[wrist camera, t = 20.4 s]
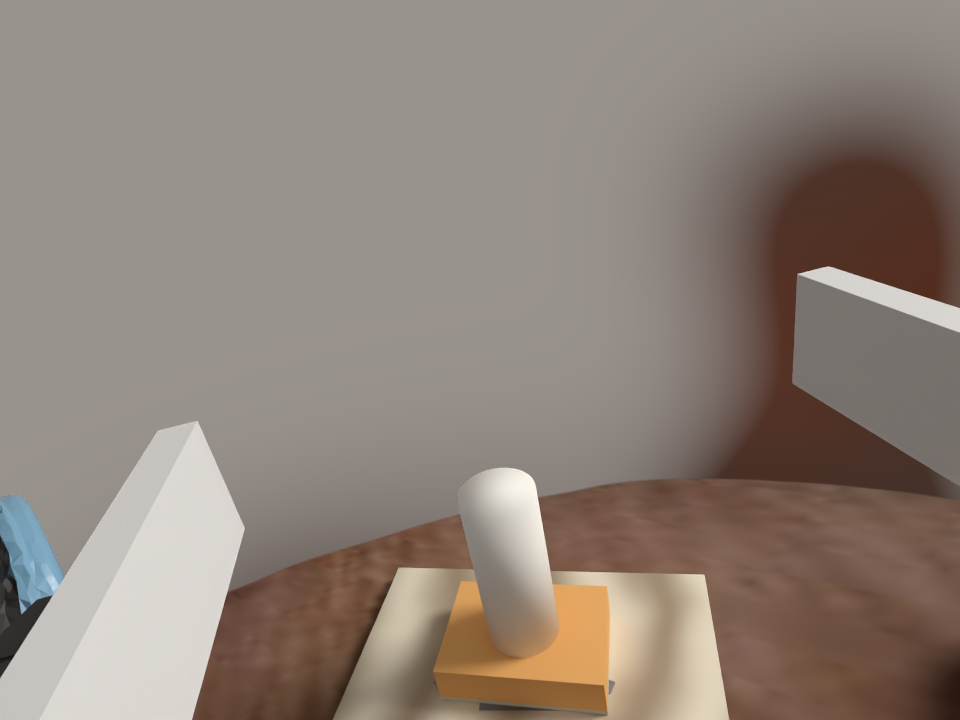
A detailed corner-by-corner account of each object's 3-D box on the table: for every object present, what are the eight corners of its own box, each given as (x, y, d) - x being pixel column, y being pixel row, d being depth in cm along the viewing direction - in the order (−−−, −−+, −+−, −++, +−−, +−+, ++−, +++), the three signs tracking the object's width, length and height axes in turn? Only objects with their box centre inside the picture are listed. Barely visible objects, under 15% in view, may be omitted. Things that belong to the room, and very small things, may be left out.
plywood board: (327, 757, 35) (321, 744, 35) (402, 578, 47) (398, 567, 47) (741, 806, 29) (741, 791, 29) (704, 587, 41) (704, 574, 41)
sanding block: (441, 699, 36) (390, 535, 31) (467, 606, 42) (429, 456, 37) (607, 714, 33) (583, 537, 28) (610, 613, 39) (590, 452, 34)
